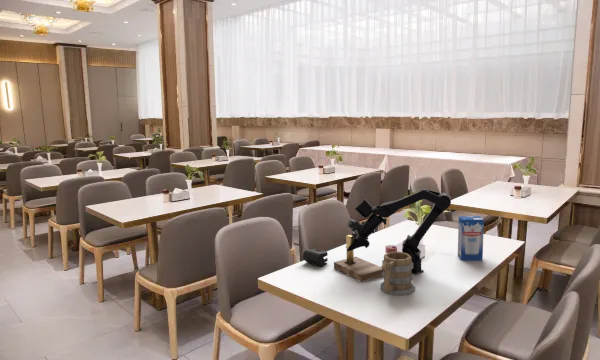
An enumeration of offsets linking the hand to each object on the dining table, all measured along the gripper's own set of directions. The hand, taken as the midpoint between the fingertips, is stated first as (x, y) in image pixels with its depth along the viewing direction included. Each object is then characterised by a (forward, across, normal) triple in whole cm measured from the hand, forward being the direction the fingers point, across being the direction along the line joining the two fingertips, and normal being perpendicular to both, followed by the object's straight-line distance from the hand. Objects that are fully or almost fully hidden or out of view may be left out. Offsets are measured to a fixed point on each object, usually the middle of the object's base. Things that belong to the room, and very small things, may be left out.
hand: (347, 249), depth 196 cm
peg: (+4, 0, +6) cm, 7 cm away
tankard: (-3, +27, +17) cm, 32 cm away
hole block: (+3, +4, +10) cm, 11 cm away
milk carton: (-36, -8, +50) cm, 62 cm away
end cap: (+17, -8, -3) cm, 19 cm away
